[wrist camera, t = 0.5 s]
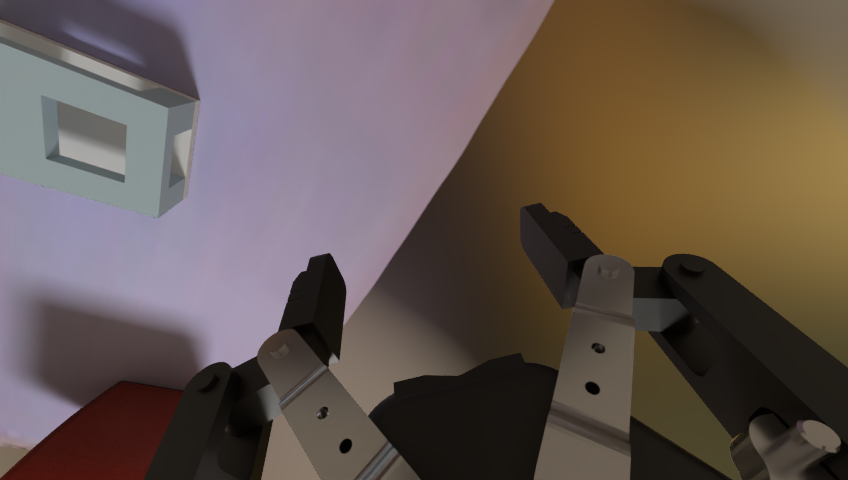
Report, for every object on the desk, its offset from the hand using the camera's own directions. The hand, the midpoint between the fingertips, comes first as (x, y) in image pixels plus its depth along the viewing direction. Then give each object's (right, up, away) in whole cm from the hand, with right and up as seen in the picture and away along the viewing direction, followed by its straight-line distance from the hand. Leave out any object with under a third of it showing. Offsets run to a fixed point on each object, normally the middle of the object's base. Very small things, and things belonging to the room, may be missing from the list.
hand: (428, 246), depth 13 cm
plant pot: (-49, -30, +43) cm, 72 cm away
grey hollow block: (-37, +14, +19) cm, 43 cm away
